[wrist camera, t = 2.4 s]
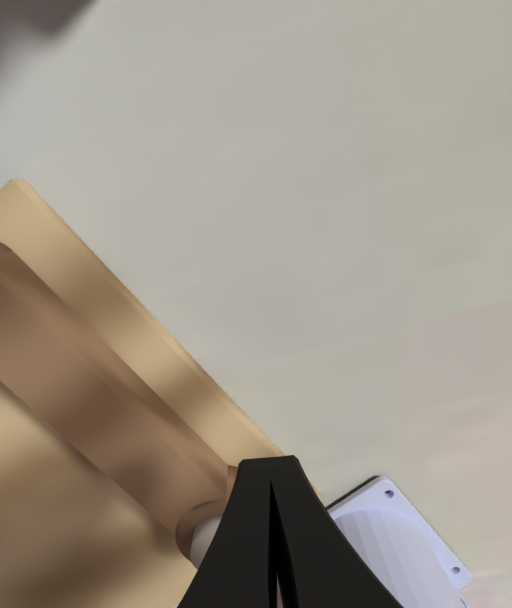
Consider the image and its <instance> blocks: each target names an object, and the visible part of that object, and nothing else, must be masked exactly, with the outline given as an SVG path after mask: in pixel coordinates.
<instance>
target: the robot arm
mask: <svg viewBox="0 0 512 608" xmlns="http://www.w3.org/2000/svg"><path fill="white" fill-rule="evenodd" d="M388 490H391V491H390V492H388V493H385V492H386V491H388ZM277 575H278V580H279V586H280V592H281V598H282V603H283V608H470V607H469V606H468V604H467V602H466V600H465V598H464V596H463V594H462V593H461V591H460V589H462V588H464V587H465V586H467V585H469V584H470V583H471V581H472V576H471V574H470V572H469V570H468V569H467V568H466V567H465V566H464V565H463V564H462V562H461V561H460V560H459V559H458V558H457V557H456V555H455V554H454V553H453V552H452V551H451V550H450V548H449V547H448V546H447V545H446V544H445V543H444V541H443V540H442V539H441V538H440V537H439V536H438V535H437V533H436V532H435V531H434V530H433V529H432V528H431V526H430V525H429V524H428V523H427V522H426V521H425V519H424V518H423V517H422V516H421V515H420V514H419V513H418V511H417V510H416V509H415V508H414V507H413V506H412V504H411V503H410V502H409V501H408V500H407V499H406V497H405V496H404V495H403V494H402V493H401V492H400V491H399V489H398V488H397V487H396V486H395V485H394V484H393V482H392V481H391V480H390V479H389V478H388V477H385V476H379V477H377V478H375V479H374V480H372V481H371V482H369V483H368V484H366V485H365V486H363V487H362V488H360V489H359V490H357V491H356V492H354V493H353V494H351V495H350V496H348V497H347V498H345V499H344V500H342V501H340V502H339V503H337V504H336V505H334V506H333V507H331V508H330V509H328V510H326V508H325V507H324V505H323V504H322V502H321V501H320V499H319V498H318V496H317V494H316V493H315V491H314V489H313V487H312V486H311V484H310V482H309V480H308V479H307V477H306V475H305V473H304V471H303V469H302V467H301V465H300V462H299V460H298V459H297V458H296V457H295V456H294V455H290V456H278V457H266V458H253V459H243V460H242V461H241V462H240V463H239V464H238V470H237V474H236V478H235V482H234V485H233V488H232V492H231V494H230V497H229V500H228V503H227V506H226V508H225V511H224V513H223V516H222V518H221V521H220V523H219V525H218V528H217V530H216V533H215V535H214V537H213V539H212V541H211V543H210V546H209V548H208V550H207V552H206V554H205V556H204V558H203V560H202V562H201V564H200V566H199V568H198V570H197V572H196V574H195V576H194V578H193V580H192V582H191V584H190V586H189V587H188V589H187V591H186V593H185V595H184V596H183V598H182V600H181V602H180V603H179V605H178V607H177V608H277Z"/></svg>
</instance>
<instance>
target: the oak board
mask: <svg viewBox="0 0 512 608" xmlns="http://www.w3.org/2000/svg"><path fill="white" fill-rule="evenodd" d="M0 242H1V243H3V244H5V245H6V246H8V247H9V248H10V249H11V250H12V251H14V252H15V253H16V254H17V255H18V256H19V257H20V258H21V259H22V260H23V261H24V262H25V263H26V264H27V265H28V266H29V267H30V268H31V269H32V270H33V271H34V272H35V273H36V274H37V275H38V276H39V277H40V278H41V279H42V280H43V281H44V282H45V283H46V284H47V285H48V286H49V287H50V288H51V289H52V290H53V291H54V292H55V293H56V294H57V295H58V296H59V297H60V298H61V299H62V300H63V301H64V302H65V303H66V304H67V305H68V306H69V307H70V308H71V309H72V310H73V311H74V312H75V313H76V314H77V315H78V316H79V317H80V318H81V319H82V320H83V321H84V322H85V323H86V324H87V325H88V326H89V327H90V328H91V329H92V330H93V331H94V332H95V333H96V334H97V335H98V336H99V337H100V338H101V339H102V340H103V341H104V342H105V343H106V344H107V345H108V346H109V347H110V348H111V349H112V350H113V351H114V352H115V353H116V354H117V355H118V356H119V357H120V358H121V359H122V360H123V361H124V362H125V363H126V364H127V365H128V366H129V367H130V368H131V369H132V370H133V371H134V372H135V373H136V374H137V375H138V376H139V377H140V378H141V379H142V380H143V381H144V382H145V383H146V384H147V385H148V386H149V387H150V388H151V389H152V390H153V391H154V392H155V393H156V394H157V395H158V396H159V397H160V398H161V399H162V400H163V401H164V402H165V403H166V404H167V405H168V406H169V407H170V408H171V409H172V410H173V411H174V412H175V413H176V414H177V415H178V416H179V417H180V418H181V419H182V420H183V421H184V422H185V423H186V424H187V425H188V426H189V427H190V428H191V429H192V430H193V431H194V432H195V433H196V434H197V435H198V436H199V437H200V438H201V439H202V440H203V441H204V442H205V443H206V444H207V445H208V446H209V447H210V448H211V449H212V450H213V451H214V452H215V453H216V454H217V455H218V456H219V457H220V458H221V459H222V460H223V461H224V462H225V463H226V464H227V465H231V466H235V467H238V464H239V463H240V462H241V461H242V460H243V459H253V458H266V457H278V456H284V455H283V453H282V452H281V451H280V450H279V449H278V448H277V447H276V446H275V445H274V444H273V443H272V442H271V441H270V440H269V439H268V438H267V437H266V435H265V434H264V433H263V432H262V431H261V430H260V429H259V428H258V427H257V426H256V425H255V424H254V423H253V422H252V421H251V420H250V418H249V417H248V416H247V415H246V414H245V413H244V412H243V411H242V410H241V409H240V408H239V407H238V406H237V405H236V404H235V403H234V402H233V400H232V399H231V398H230V397H229V396H228V395H227V394H226V393H225V392H224V391H223V390H222V389H221V388H220V387H219V386H218V385H217V383H216V382H215V381H214V380H213V379H212V378H211V377H210V376H209V375H208V374H207V373H206V372H205V371H204V370H203V369H202V368H201V366H200V365H199V364H198V363H197V362H196V361H195V360H194V359H193V358H192V357H191V356H190V355H189V354H188V353H187V352H186V351H185V350H184V348H183V347H182V346H181V345H180V344H179V343H178V342H177V341H176V340H175V339H174V338H173V337H172V336H171V335H170V334H169V333H168V331H167V330H166V329H165V328H164V327H163V326H162V325H161V324H160V323H159V322H158V321H157V320H156V319H155V318H154V317H153V316H152V314H151V313H150V312H149V311H148V310H147V309H146V308H145V307H144V306H143V305H142V304H141V303H140V302H139V301H138V300H137V299H136V298H135V296H134V295H133V294H132V293H131V292H130V291H129V290H128V289H127V288H126V287H125V286H124V285H123V284H122V283H121V282H120V281H119V279H118V278H117V277H116V276H115V275H114V274H113V273H112V272H111V271H110V270H109V269H108V268H107V267H106V266H105V265H104V264H103V262H102V261H101V260H100V259H99V258H98V257H97V256H96V255H95V254H94V253H93V252H92V251H91V250H90V249H89V248H88V247H87V246H86V244H85V243H84V242H83V241H82V240H81V239H80V238H79V237H78V236H77V235H76V234H75V233H74V232H73V231H72V230H71V229H70V227H69V226H68V225H67V224H66V223H65V222H64V221H63V220H62V219H61V218H60V217H59V216H58V215H57V214H56V213H55V212H54V210H53V209H52V208H51V207H50V206H49V205H48V204H47V203H46V202H45V201H44V200H43V199H42V198H41V197H40V196H39V195H38V194H37V192H36V191H35V190H34V189H33V188H32V187H31V186H30V185H29V184H28V183H27V182H26V181H25V180H24V179H11V180H10V181H9V182H8V183H7V184H6V185H5V186H4V187H3V188H2V189H1V190H0ZM310 484H311V483H310ZM311 486H312V487H313V489H314V491H315V493H316V494H317V496H318V498H319V499H320V501H321V497H320V493H319V492H318V491H317V490H316V489H315V487H314V486H313V485H312V484H311ZM321 502H322V501H321ZM196 572H197V569H196V568H195V567H194V566H193V564H192V562H190V561H189V560H188V559H186V558H185V557H184V556H183V555H182V553H181V552H180V550H179V549H178V547H177V544H176V540H175V535H174V534H173V533H171V532H170V531H169V530H168V529H167V528H166V527H165V526H164V525H162V524H161V523H160V522H159V521H158V520H157V519H156V518H155V517H153V516H152V515H151V514H150V513H149V512H148V511H147V510H145V509H144V508H143V507H142V506H141V505H140V504H139V503H138V502H136V501H135V500H134V499H133V498H132V497H131V496H130V495H129V494H127V493H126V492H125V491H124V490H123V489H122V488H121V487H120V486H118V485H117V484H116V483H115V482H114V481H113V480H112V479H110V478H109V477H108V476H107V475H106V474H105V473H104V472H103V471H101V470H100V469H99V468H98V467H97V466H96V465H95V464H94V463H92V462H91V461H90V460H89V459H88V458H87V457H86V456H85V455H83V454H82V453H81V452H80V451H79V450H78V449H77V448H75V447H74V446H73V445H72V444H71V443H70V442H69V441H68V440H66V439H65V438H64V437H63V436H62V435H61V434H60V433H59V432H57V431H56V430H55V429H54V428H53V427H52V426H51V425H50V424H48V423H47V422H46V421H45V420H44V419H43V418H42V417H40V416H39V415H38V414H37V413H36V412H35V411H34V410H33V409H31V408H30V407H29V406H28V405H27V404H26V403H25V402H24V401H22V400H21V399H20V398H19V397H18V396H17V395H16V394H15V393H13V392H12V391H11V390H10V389H9V388H8V387H7V386H5V385H4V384H3V383H2V382H1V381H0V608H171V607H172V606H174V605H175V604H177V603H178V602H180V601H181V600H182V598H183V596H184V595H185V593H186V591H187V589H188V587H189V586H190V584H191V582H192V580H193V578H194V576H195V574H196Z"/></svg>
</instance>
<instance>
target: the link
mask: <svg viewBox="0 0 512 608" xmlns="http://www.w3.org/2000/svg"><path fill="white" fill-rule="evenodd" d="M0 381H1V382H2V383H3V384H4V385H5V386H7V387H8V388H9V389H10V390H11V391H12V392H13V393H15V394H16V395H17V396H18V397H19V398H20V399H21V400H22V401H24V402H25V403H26V404H27V405H28V406H29V407H30V408H31V409H33V410H34V411H35V412H36V413H37V414H38V415H39V416H40V417H42V418H43V419H44V420H45V421H46V422H47V423H48V424H50V425H51V426H52V427H53V428H54V429H55V430H56V431H57V432H59V433H60V434H61V435H62V436H63V437H64V438H65V439H66V440H68V441H69V442H70V443H71V444H72V445H73V446H74V447H75V448H77V449H78V450H79V451H80V452H81V453H82V454H83V455H85V456H86V457H87V458H88V459H89V460H90V461H91V462H92V463H94V464H95V465H96V466H97V467H98V468H99V469H100V470H101V471H103V472H104V473H105V474H106V475H107V476H108V477H109V478H110V479H112V480H113V481H114V482H115V483H116V484H117V485H118V486H120V487H121V488H122V489H123V490H124V491H125V492H126V493H127V494H129V495H130V496H131V497H132V498H133V499H134V500H135V501H136V502H138V503H139V504H140V505H141V506H142V507H143V508H144V509H145V510H147V511H148V512H149V513H150V514H151V515H152V516H153V517H155V518H156V519H157V520H158V521H159V522H160V523H161V524H162V525H164V526H165V527H166V528H167V529H168V530H169V531H170V532H171V533H173V534H174V535H175V540H176V544H177V547H178V549H179V550H180V552H181V553H182V555H183V556H184V557H185V558H186V559H188V560H189V561H190V562H192V564H193V566H194V567H195V568H196V569H197V570H198V568H199V566H200V564H201V562H202V560H203V558H204V556H205V554H206V552H207V550H208V548H209V546H210V543H211V541H212V539H213V537H214V535H215V533H216V530H217V528H218V525H219V523H220V521H221V518H222V516H223V513H224V511H225V508H226V506H227V503H228V500H229V497H230V494H231V492H232V488H233V485H234V482H235V478H236V474H237V470H238V467H235V466H231V465H227V464H226V463H225V462H224V461H223V460H222V459H221V458H220V457H219V456H218V455H217V454H216V453H215V452H214V451H213V450H212V449H211V448H210V447H209V446H208V445H207V444H206V443H205V442H204V441H203V440H202V439H201V438H200V437H199V436H198V435H197V434H196V433H195V432H194V431H193V430H192V429H191V428H190V427H189V426H188V425H187V424H186V423H185V422H184V421H183V420H182V419H181V418H180V417H179V416H178V415H177V414H176V413H175V412H174V411H173V410H172V409H171V408H170V407H169V406H168V405H167V404H166V403H165V402H164V401H163V400H162V399H161V398H160V397H159V396H158V395H157V394H156V393H155V392H154V391H153V390H152V389H151V388H150V387H149V386H148V385H147V384H146V383H145V382H144V381H143V380H142V379H141V378H140V377H139V376H138V375H137V374H136V373H135V372H134V371H133V370H132V369H131V368H130V367H129V366H128V365H127V364H126V363H125V362H124V361H123V360H122V359H121V358H120V357H119V356H118V355H117V354H116V353H115V352H114V351H113V350H112V349H111V348H110V347H109V346H108V345H107V344H106V343H105V342H104V341H103V340H102V339H101V338H100V337H99V336H98V335H97V334H96V333H95V332H94V331H93V330H92V329H91V328H90V327H89V326H88V325H87V324H86V323H85V322H84V321H83V320H82V319H81V318H80V317H79V316H78V315H77V314H76V313H75V312H74V311H73V310H72V309H71V308H70V307H69V306H68V305H67V304H66V303H65V302H64V301H63V300H62V299H61V298H60V297H59V296H58V295H57V294H56V293H55V292H54V291H53V290H52V289H51V288H50V287H49V286H48V285H47V284H46V283H45V282H44V281H43V280H42V279H41V278H40V277H39V276H38V275H37V274H36V273H35V272H34V271H33V270H32V269H31V268H30V267H29V266H28V265H27V264H26V263H25V262H24V261H23V260H22V259H21V258H20V257H19V256H18V255H17V254H16V253H15V252H14V251H12V250H11V249H10V248H9V247H8V246H6V245H5V244H3V243H1V242H0Z"/></svg>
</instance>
